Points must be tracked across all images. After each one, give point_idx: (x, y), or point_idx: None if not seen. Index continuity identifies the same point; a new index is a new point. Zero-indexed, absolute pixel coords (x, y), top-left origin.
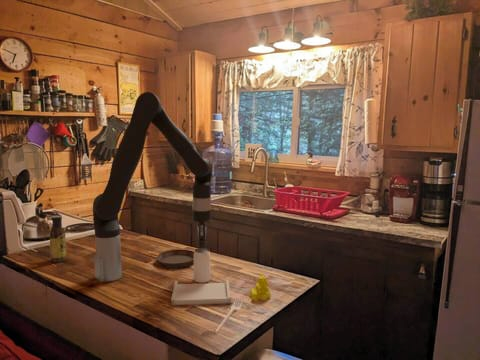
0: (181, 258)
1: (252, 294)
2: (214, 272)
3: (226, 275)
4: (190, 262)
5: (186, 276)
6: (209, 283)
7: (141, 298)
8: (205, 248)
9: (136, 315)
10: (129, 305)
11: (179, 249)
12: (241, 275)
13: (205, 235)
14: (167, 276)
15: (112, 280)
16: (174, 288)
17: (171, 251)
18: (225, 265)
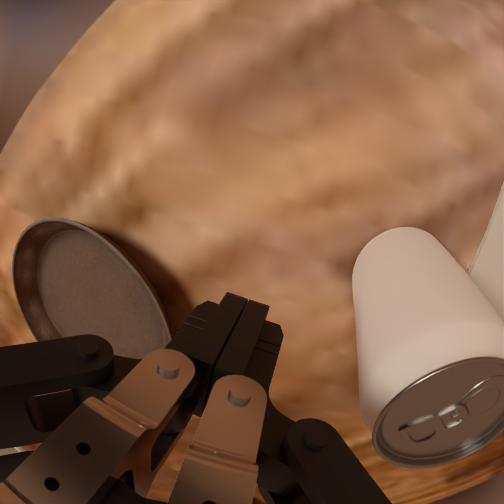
0: (68, 281)
1: None
2: (310, 157)
3: (391, 99)
4: (145, 276)
5: (309, 334)
6: (478, 259)
7: (420, 475)
8: (419, 383)
9: (493, 474)
10: (437, 489)
11: (13, 281)
12: (417, 15)
13: (252, 484)
14: (272, 400)
15: (253, 501)
16: None
17: (27, 312)
18: (204, 52)
